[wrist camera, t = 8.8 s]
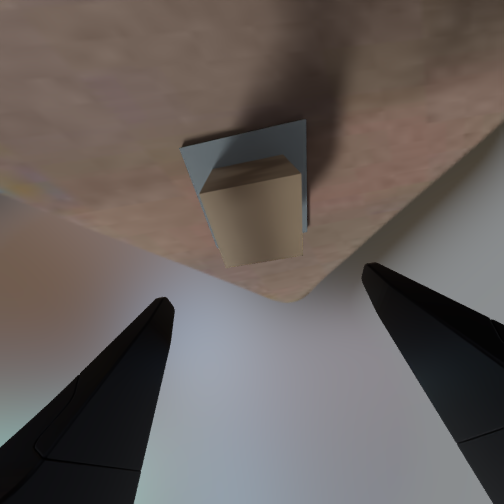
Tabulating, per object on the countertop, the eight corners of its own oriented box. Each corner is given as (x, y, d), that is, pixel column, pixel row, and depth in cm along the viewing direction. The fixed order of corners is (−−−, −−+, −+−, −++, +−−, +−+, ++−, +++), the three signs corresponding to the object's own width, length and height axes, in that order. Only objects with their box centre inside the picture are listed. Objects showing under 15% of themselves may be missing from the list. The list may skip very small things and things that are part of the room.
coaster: (304, 118, 14) (306, 119, 14) (305, 229, 20) (307, 231, 20) (181, 147, 15) (179, 148, 15) (217, 245, 21) (217, 248, 21)
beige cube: (282, 154, 15) (301, 173, 10) (287, 219, 19) (302, 255, 14) (212, 169, 16) (198, 194, 11) (230, 229, 19) (226, 268, 14)
